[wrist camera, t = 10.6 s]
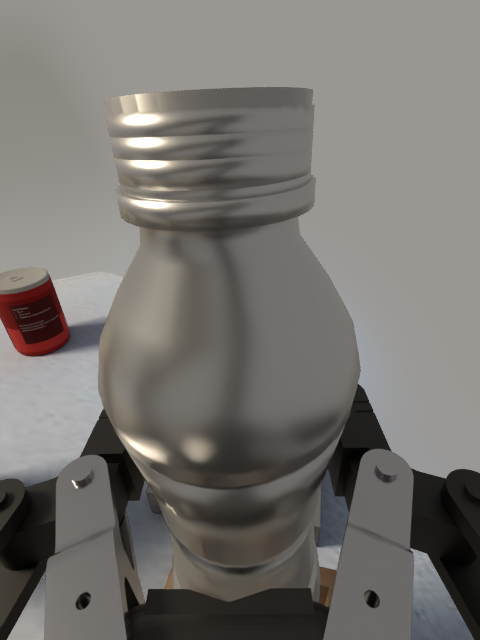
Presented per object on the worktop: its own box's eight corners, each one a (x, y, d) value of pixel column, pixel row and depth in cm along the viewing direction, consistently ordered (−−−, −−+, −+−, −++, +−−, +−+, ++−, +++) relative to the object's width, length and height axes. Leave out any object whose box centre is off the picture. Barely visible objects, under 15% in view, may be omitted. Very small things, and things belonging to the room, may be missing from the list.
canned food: (38, 327, 56) (12, 265, 50) (81, 330, 55) (60, 267, 49) (3, 355, 49) (-31, 288, 44) (51, 359, 48) (22, 291, 42)
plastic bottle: (299, 515, 19) (335, 98, 9) (334, 687, 13) (560, 57, 3) (186, 525, 19) (88, 110, 9) (172, 703, 13) (-177, 93, 3)
